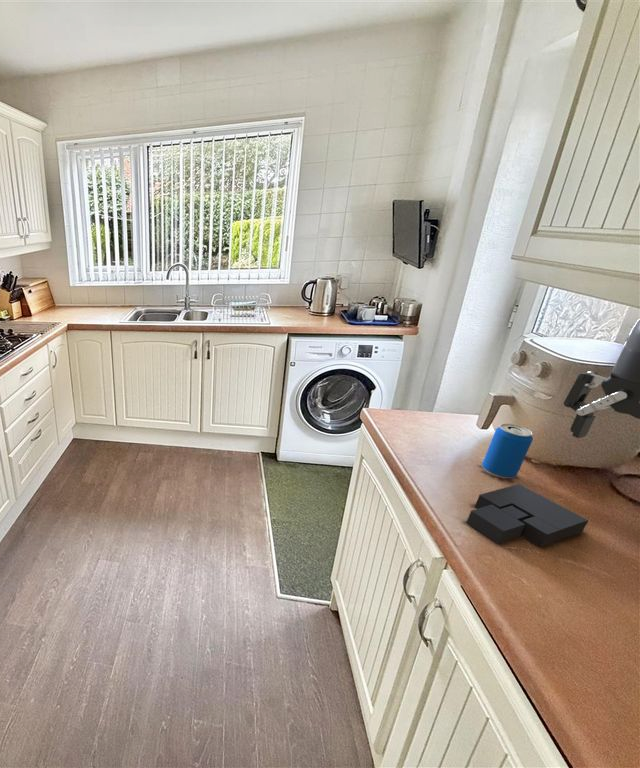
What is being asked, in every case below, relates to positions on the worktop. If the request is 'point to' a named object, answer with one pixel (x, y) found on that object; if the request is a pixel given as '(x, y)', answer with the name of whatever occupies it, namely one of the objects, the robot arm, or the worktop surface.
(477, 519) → the pad
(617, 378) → the robot arm
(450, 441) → the worktop surface
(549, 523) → the base pad
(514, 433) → the beverage can
